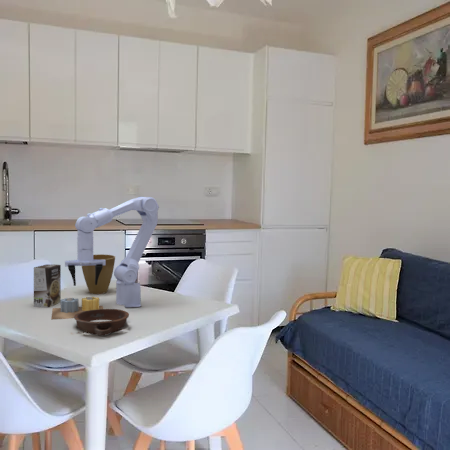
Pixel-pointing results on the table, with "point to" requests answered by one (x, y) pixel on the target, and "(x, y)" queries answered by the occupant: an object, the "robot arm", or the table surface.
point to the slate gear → (69, 305)
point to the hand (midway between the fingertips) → (85, 284)
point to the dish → (103, 327)
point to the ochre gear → (90, 304)
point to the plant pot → (103, 277)
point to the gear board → (62, 315)
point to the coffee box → (47, 285)
